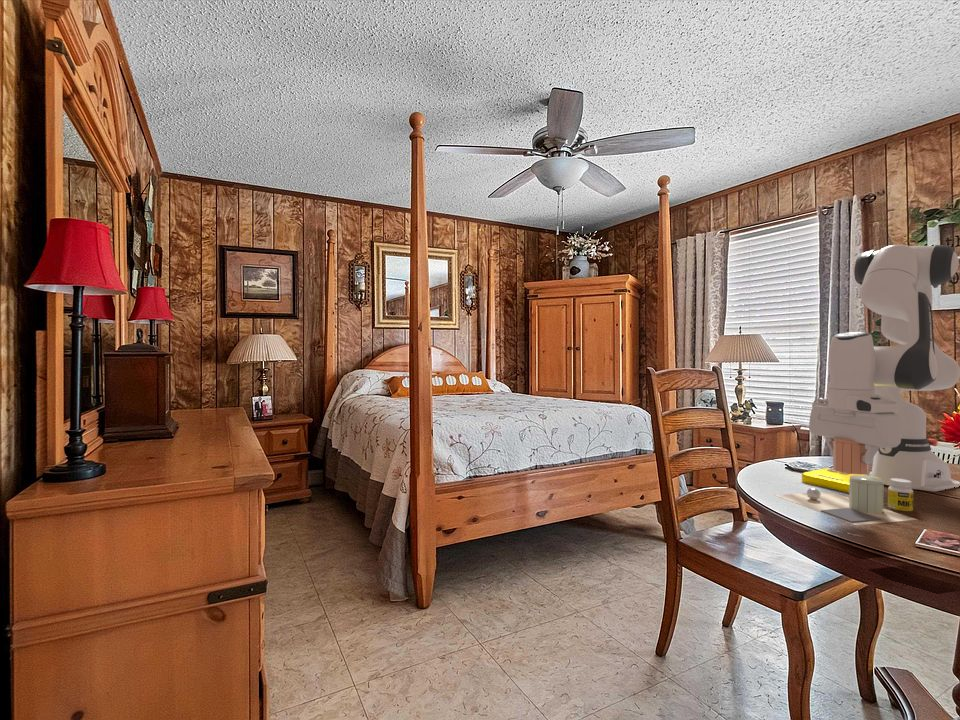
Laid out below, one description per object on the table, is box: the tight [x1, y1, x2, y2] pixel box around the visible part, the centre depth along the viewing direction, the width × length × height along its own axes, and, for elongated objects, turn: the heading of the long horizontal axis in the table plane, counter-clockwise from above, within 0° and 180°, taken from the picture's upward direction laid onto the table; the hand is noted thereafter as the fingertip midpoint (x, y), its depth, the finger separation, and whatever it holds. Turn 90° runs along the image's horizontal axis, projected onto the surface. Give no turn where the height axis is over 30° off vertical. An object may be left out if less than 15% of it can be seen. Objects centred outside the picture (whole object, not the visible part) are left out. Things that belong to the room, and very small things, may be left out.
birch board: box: [775, 490, 919, 526], centre depth 122 cm, size 17×23×2 cm
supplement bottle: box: [887, 478, 914, 512], centre depth 121 cm, size 5×5×8 cm
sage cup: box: [848, 475, 885, 514], centre depth 120 cm, size 6×6×8 cm
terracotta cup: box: [832, 437, 869, 475], centre depth 115 cm, size 6×6×8 cm
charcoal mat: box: [820, 508, 881, 524], centre depth 116 cm, size 8×8×1 cm
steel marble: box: [806, 487, 821, 500], centre depth 128 cm, size 3×3×3 cm
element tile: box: [801, 467, 881, 494], centre depth 142 cm, size 15×15×5 cm
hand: (850, 460), depth 115 cm, fingers closed on terracotta cup, 6 cm apart
